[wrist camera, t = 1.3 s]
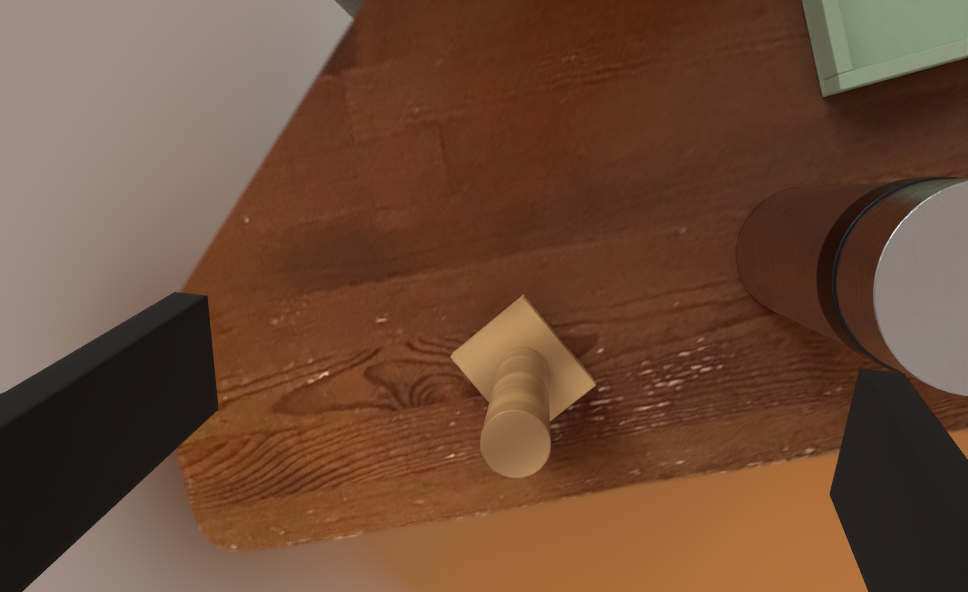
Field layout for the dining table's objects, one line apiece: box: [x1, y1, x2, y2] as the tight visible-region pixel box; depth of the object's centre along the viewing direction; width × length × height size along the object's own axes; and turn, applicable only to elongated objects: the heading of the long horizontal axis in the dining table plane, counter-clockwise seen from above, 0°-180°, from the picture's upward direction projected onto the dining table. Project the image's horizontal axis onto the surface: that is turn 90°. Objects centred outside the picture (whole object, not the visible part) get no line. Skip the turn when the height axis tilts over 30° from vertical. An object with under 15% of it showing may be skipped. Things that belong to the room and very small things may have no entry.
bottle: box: [736, 177, 968, 396], centre depth 32 cm, size 7×7×17 cm
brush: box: [451, 295, 596, 478], centre depth 35 cm, size 6×5×15 cm
